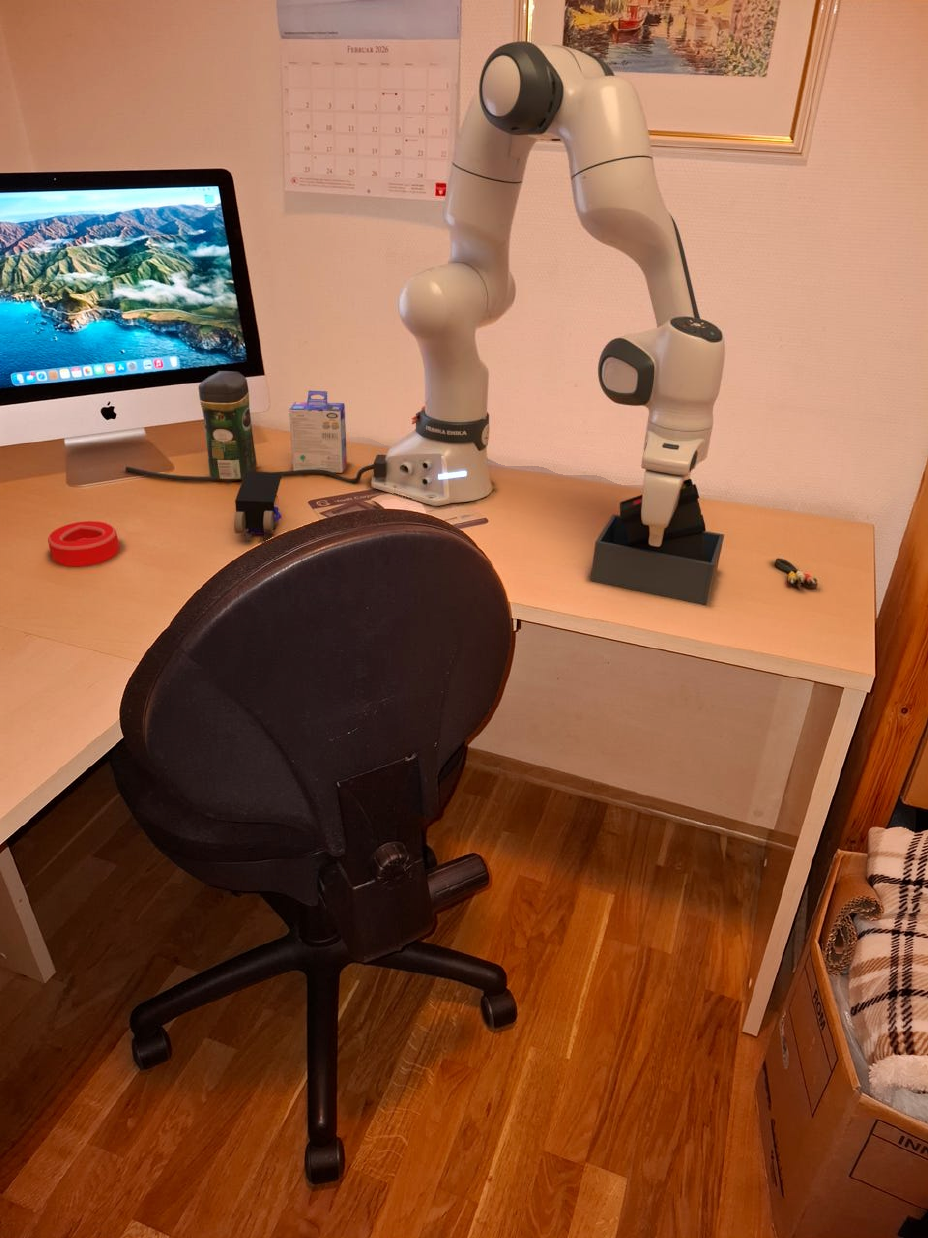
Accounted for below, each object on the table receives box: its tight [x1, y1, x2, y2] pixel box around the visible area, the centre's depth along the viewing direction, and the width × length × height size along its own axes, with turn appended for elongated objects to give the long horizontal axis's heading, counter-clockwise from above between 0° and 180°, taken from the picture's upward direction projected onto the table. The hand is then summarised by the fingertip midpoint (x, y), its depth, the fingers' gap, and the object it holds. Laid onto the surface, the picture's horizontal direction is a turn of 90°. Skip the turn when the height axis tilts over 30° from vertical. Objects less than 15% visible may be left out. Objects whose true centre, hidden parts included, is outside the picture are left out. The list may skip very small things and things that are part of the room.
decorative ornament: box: [47, 520, 120, 567], centre depth 129 cm, size 10×10×3 cm
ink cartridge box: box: [288, 390, 348, 474], centre depth 160 cm, size 10×6×14 cm, turn 89°
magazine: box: [619, 478, 707, 562], centre depth 126 cm, size 4×13×15 cm, turn 82°
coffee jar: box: [198, 370, 257, 483], centre depth 155 cm, size 10×8×19 cm
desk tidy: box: [590, 513, 725, 606], centre depth 128 cm, size 17×11×6 cm, turn 68°
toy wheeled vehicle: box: [233, 471, 283, 542], centre depth 138 cm, size 7×8×15 cm
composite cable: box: [774, 558, 818, 589], centre depth 130 cm, size 10×5×2 cm, turn 177°
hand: (661, 531), depth 125 cm, fingers open, 8 cm apart
